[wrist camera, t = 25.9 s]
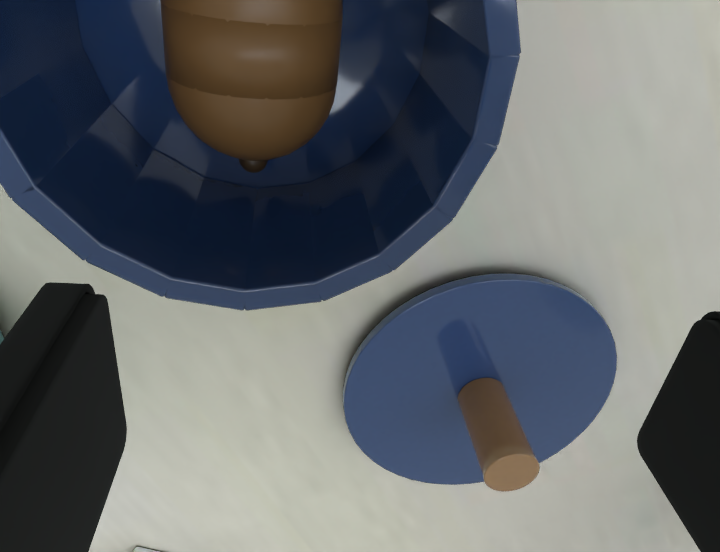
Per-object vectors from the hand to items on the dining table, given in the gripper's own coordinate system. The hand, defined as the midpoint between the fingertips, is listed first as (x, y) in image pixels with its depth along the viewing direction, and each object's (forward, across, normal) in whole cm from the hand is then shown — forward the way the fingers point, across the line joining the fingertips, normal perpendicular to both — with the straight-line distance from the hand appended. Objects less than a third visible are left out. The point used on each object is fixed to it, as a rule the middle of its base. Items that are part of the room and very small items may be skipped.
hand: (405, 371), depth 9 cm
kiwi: (+15, +3, -3) cm, 16 cm away
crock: (+16, +4, -3) cm, 16 cm away
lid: (+15, -8, +14) cm, 23 cm away
